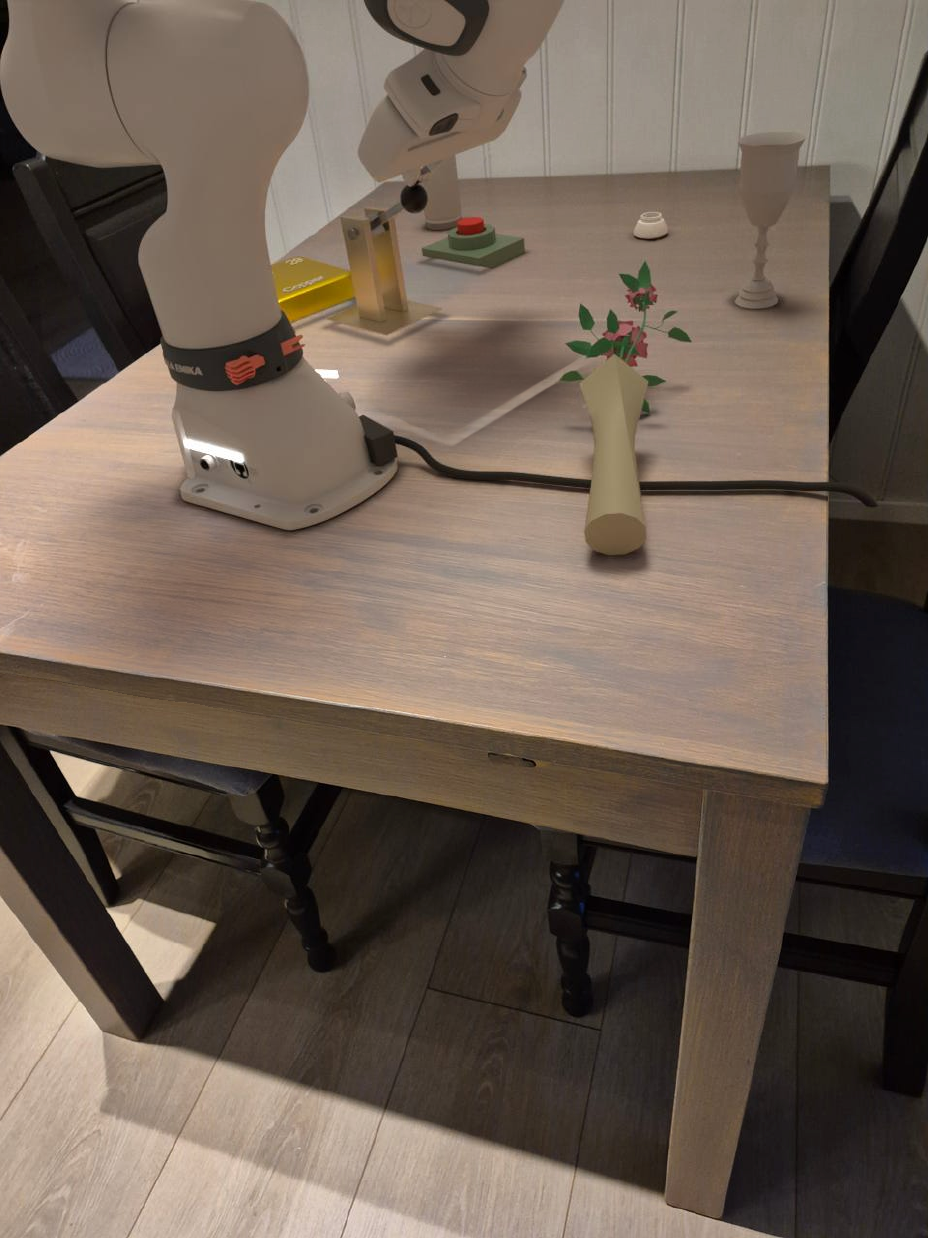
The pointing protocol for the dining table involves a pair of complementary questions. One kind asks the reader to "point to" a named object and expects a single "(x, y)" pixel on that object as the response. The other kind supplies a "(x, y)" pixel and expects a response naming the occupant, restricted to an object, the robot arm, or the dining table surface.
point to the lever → (400, 208)
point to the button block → (476, 248)
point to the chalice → (766, 199)
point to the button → (470, 226)
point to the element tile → (310, 286)
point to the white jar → (650, 226)
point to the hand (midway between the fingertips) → (414, 178)
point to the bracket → (377, 278)
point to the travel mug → (443, 197)
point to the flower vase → (617, 420)
